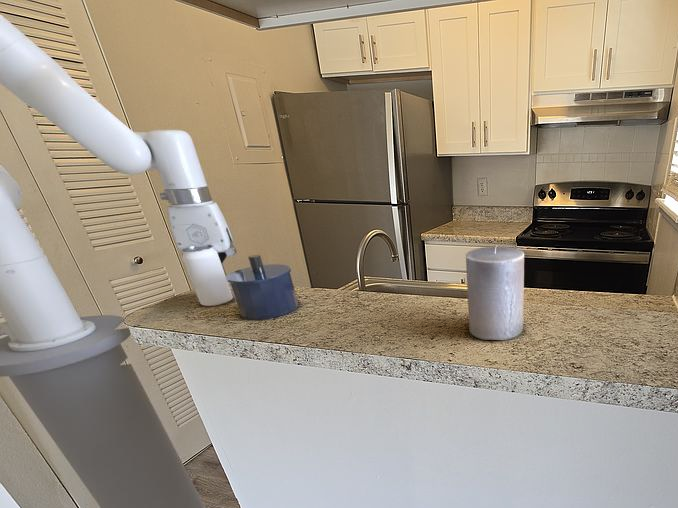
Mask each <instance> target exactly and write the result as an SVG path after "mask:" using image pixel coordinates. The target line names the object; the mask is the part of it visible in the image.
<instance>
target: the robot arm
mask: <svg viewBox="0 0 678 508" xmlns="http://www.w3.org/2000/svg"><path fill="white" fill-rule="evenodd" d="M0 85H1V86H3V87H4V88H5V89H6V90H8V91H9V92H11V94H13V95H14V96H15V97H17V98H18V99H19V100H20V101H22V102H23V103H24V104H26V106H29V107H30V108H32V109H34V110H35V111H36V112H38V113H39V114H40V115H42V116H43V117H44V118H45V119H46V120H48V121H49V122H51V123H52V125H54V126H55V127H57V128H58V129H60V130H61V131H62V132H63V133H65V134H66V135H67V136H68V137H70V138H71V139H72V140H73V141H75V142H76V143H78V145H80V146H81V147H82V148H84V149H85V150H86V151H88V152H89V153H90V154H91V155H93V156H94V157H95V158H97V159H98V160H99V161H100V162H102V163H103V164H104V165H106V166H107V167H108V168H110V169H111V170H114V171H115V172H117V173H121V174H122V175H123V174H124V175H128V176H135V175H139V174H142V173H144V172H149V171H155V170H157V172H158V175H159V177H160V180H161V182H162V185H163V188H164V192H160V193H159V198H160V200H162V201H168V204H170V205H168V206H166V211H167V217H168V222H169V226H170V231H171V233H172V237H173V241H174V243H175V246H176V249H177V251H178V252H179V253H180V254H181V256H182V257H183V251H182V249H184V248H187V247H191V246H196V248H197V247H208V245H212V246H213V249H214V250H215V251H216V252H217V253H218V256H219V258H220V261H221V264H222V267H223V270H224V273H225V276H227V272H226V270H225V267H224V264H223V263H224V261H225V260H226V258H228V257H231V256H234V255H236V254H237V252H238V250H237V248H236V247H235V246H234V245H235V244H234V239H233V236H232V233H231V231H230V227H229V225H228V223H227V221H226V218H225V216H224V214H223V212H222V211H221V209H220V206H219V205H218V203H217V202H216V201H213V198H212V196H211V193H210V190H209V187H208V183H207V180H206V178H205V175H204V172H203V169H202V165H201V163H200V159H199V155H198V153H197V150H196V147H195V144H194V142H193V138H192V136H191V135H190V134H189V133H188V132H187V131H185V130H182V129H181V130H180V129H154V130H149V131H147V132H143V131H142V132H141V131H133V130H132V129H130V128H129V127H128V126H127V125H126V124H124V122H122V121H121V120H120V119H118V117H117V116H115V115H114V114H113V113H112V112H110V111H109V110H108V109H107V107H105V106H103V104H101V103H100V102H99V101H98V100H97V99H96V98H94V97H93V96H92V95H91V94H90V93H89V92H88V91H86V90H85V88H83V87H82V86H81V85H80V84H79V83H78V82H76V81H75V80H74V79H73V78H72V76H71V75H69V74H68V73H67V71H66V70H65V69H64V68H63V67H62V66H61V65H60V64H59V63H57V61H56V60H54V59H53V58H52V57H51V56H50V55H49V54H47V53H46V51H44V50H43V49H42V48H41V47H39V46H38V45H37V44H36V43H34V41H32V40H31V39H30V38H29V37H28V36H26V34H24V33H23V32H22V31H21V30H20V29H18V28H17V26H15V25H13V23H12V22H10V21H9V20H8V19H7V18H5V17H4V16H3V15H2V14H1V13H0ZM22 203H23V192H22V190H21V187H20V184H18V182H17V181H16V180H15V178H14V177H13V176H12V175H11V174H10V173H9V172H8V170H6V168H5V167H4V166H2V164H1V163H0V314H1V316H2V318H3V319H4V322H0V337H1V336H9V338H10V339H11V340H10V341H9V343H8V345H9V347H10V349H11V350H13V351H17V352H30V351H38V350H44V349H49V348H54V347H58V346H61V345H65V344H68V343H71V342H74V341H77V340H79V339H82V338H84V337H86V336H88V335H90V334H91V333H92V332H94V331H95V329H96V326H95V325H94V323H93V322H91V321H84V320H81V319H80V317H81V316H80V315H79V314H78V312H77V311H76V308H75V307H74V305H73V303H72V301H71V299H70V298H69V296H68V294H67V292H66V290H65V289H64V287H63V285H62V283H61V281H60V280H59V277H58V276H57V274H56V273H55V271H54V269H53V267H52V265H51V264H50V263H51V262H50V261H49V260H48V258H47V256H46V255H45V253H44V251H43V249H42V248H41V246H40V244H39V242H38V240H37V239H36V237H35V236H34V234H33V231H31V229H30V227H29V226H28V224H27V223H26V222H25V220H24V219H23V218H22V216H21V214H20V213H19V211H18V210H19V209H20V208H21V205H22Z"/></svg>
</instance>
